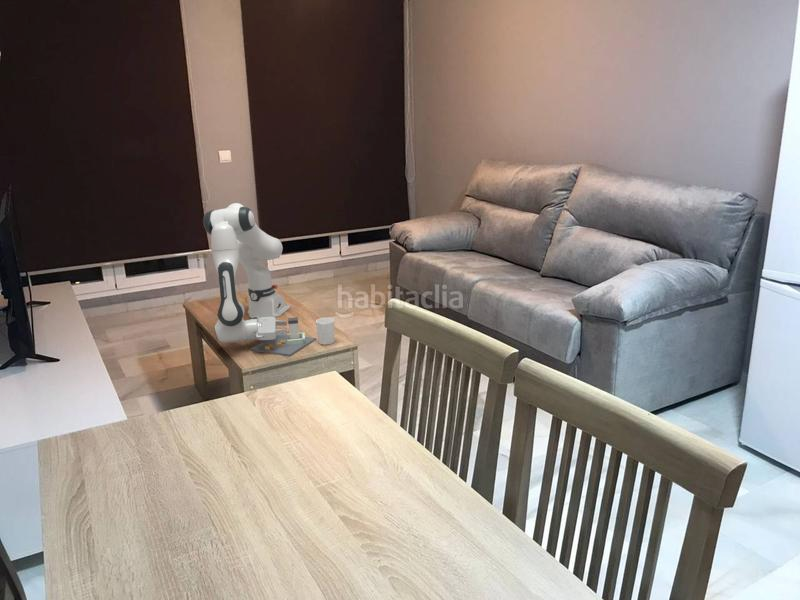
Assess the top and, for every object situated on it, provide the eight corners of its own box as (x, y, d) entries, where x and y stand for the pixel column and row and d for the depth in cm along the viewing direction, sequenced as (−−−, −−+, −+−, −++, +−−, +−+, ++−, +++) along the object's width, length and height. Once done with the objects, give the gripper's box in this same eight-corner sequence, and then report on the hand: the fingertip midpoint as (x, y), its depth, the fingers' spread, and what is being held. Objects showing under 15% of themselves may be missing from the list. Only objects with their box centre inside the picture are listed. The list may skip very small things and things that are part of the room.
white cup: (325, 337, 289) (324, 316, 286) (339, 341, 284) (337, 319, 281) (313, 343, 283) (311, 321, 280) (327, 346, 278) (325, 324, 275)
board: (278, 334, 295) (278, 330, 295) (316, 339, 287) (315, 335, 286) (251, 350, 278) (250, 345, 278) (290, 356, 270) (289, 351, 269)
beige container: (290, 339, 286) (288, 318, 283) (299, 338, 287) (297, 317, 284) (290, 342, 282) (288, 321, 279) (299, 342, 283) (297, 320, 280)
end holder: (287, 345, 280) (287, 340, 279) (287, 338, 288) (286, 333, 288) (305, 343, 281) (305, 339, 280) (304, 336, 289) (304, 332, 289)
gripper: (252, 330, 269) (286, 327, 271) (254, 315, 288) (285, 312, 291) (254, 345, 271) (287, 341, 273) (255, 328, 290) (287, 325, 292)
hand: (286, 326), depth 282 cm, fingers open, 8 cm apart
